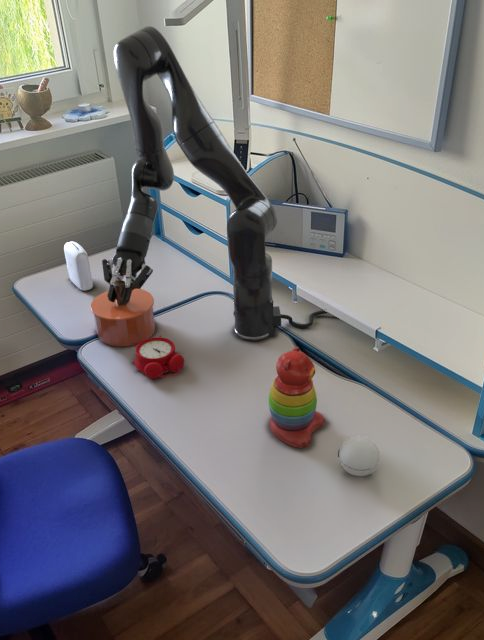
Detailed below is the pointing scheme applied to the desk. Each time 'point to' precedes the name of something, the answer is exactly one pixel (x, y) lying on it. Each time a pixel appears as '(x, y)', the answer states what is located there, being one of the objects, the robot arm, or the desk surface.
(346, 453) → the seamed sphere
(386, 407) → the desk surface
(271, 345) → the desk surface
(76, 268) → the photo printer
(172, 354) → the alarm clock
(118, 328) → the orange cylindrical pot
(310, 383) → the stacking bear
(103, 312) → the lid
